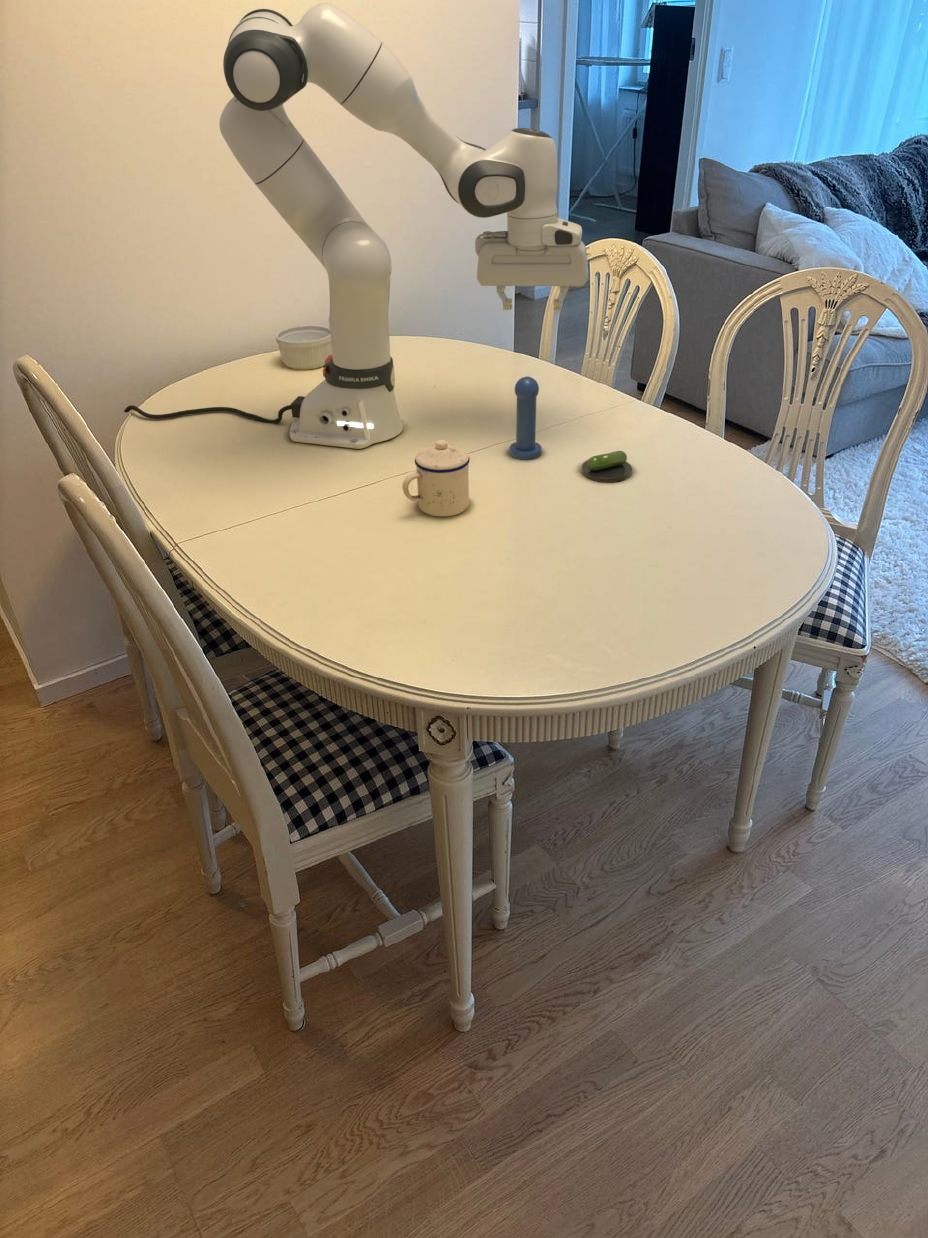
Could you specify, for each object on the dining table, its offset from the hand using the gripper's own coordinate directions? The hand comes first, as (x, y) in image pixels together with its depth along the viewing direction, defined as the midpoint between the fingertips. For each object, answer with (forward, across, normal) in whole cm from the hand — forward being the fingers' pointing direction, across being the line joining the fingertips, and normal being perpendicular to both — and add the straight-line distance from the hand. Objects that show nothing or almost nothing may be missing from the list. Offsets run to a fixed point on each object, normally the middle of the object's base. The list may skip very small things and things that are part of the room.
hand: (532, 309), depth 170 cm
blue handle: (+23, 0, -14) cm, 27 cm away
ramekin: (+22, -58, +30) cm, 68 cm away
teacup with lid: (+22, -12, -38) cm, 45 cm away
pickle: (+23, +16, -19) cm, 34 cm away
